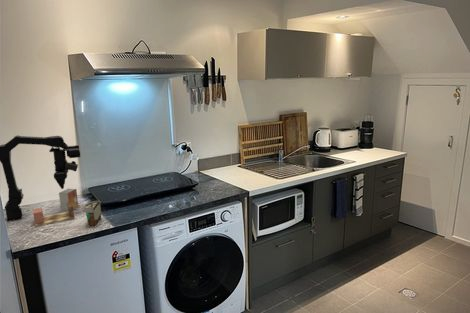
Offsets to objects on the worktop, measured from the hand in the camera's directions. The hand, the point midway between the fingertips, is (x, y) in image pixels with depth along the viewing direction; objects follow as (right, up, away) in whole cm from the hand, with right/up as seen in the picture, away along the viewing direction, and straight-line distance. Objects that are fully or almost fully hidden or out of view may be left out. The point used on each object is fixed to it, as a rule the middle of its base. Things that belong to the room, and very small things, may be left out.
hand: (63, 186), depth 190 cm
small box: (+1, -13, +6) cm, 14 cm away
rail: (+1, -17, -11) cm, 20 cm away
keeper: (-5, -16, -15) cm, 23 cm away
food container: (+23, -18, -16) cm, 33 cm away
